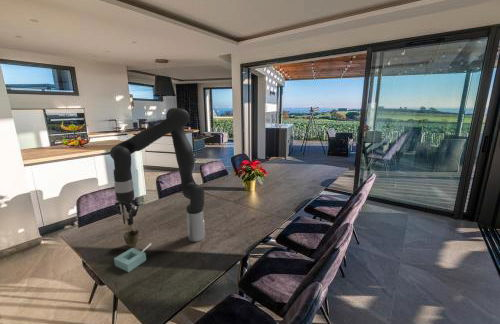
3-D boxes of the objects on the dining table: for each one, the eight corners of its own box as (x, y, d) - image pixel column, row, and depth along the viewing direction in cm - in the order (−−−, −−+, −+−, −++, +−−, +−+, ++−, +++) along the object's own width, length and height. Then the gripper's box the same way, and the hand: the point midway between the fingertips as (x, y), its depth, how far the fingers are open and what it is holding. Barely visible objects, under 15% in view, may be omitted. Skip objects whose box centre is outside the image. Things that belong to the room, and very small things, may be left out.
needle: (129, 228, 113) (126, 204, 110) (133, 229, 112) (130, 205, 109) (124, 230, 111) (121, 206, 108) (128, 231, 110) (125, 207, 107)
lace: (150, 244, 132) (150, 243, 132) (151, 244, 132) (151, 243, 132) (138, 254, 123) (138, 253, 123) (139, 255, 123) (139, 254, 123)
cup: (142, 243, 133) (141, 230, 131) (133, 250, 126) (132, 237, 124) (131, 241, 135) (129, 228, 133) (122, 248, 128) (120, 235, 126)
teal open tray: (133, 254, 123) (132, 247, 122) (146, 260, 119) (145, 253, 118) (114, 265, 114) (113, 258, 114) (128, 272, 110) (127, 264, 109)
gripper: (142, 189, 107) (145, 223, 111) (121, 184, 113) (125, 217, 117) (127, 194, 101) (131, 231, 105) (106, 189, 107) (111, 224, 111)
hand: (128, 223), depth 111 cm, fingers closed on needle, 2 cm apart
